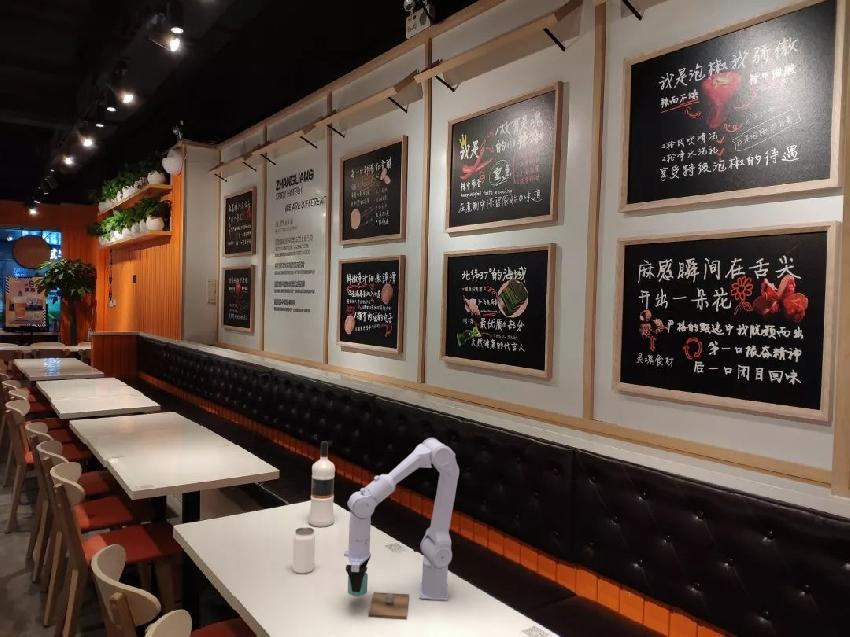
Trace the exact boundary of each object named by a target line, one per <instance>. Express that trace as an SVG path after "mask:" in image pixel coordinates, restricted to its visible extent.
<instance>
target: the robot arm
mask: <svg viewBox="0 0 850 637" xmlns="http://www.w3.org/2000/svg"><path fill="white" fill-rule="evenodd" d="M457 462H458V461H457V459H456V453H455V452H454V450H452V449H451V448H450V447H449V446H448V445H445V444H444V443H442V442H440V441H439V440H438V439H437V438H435V437H428V438H427V439H425V440H424V441H422V443H420V444H418V445H416V447H415V449H414V450H413V451H412V452H411V453H410V454H409V455H408V456H407V457H406V458H405V459H403V460H402V461H401V462H400V463H399V464H398V465H397V466H396V467H394V469H392V470H391V471H390V472H389V473H388V474H387V473H385V474H384V473H382V474H380V475H375V476H374V477H373V479H374V480H373V481H371V482H370V483H369V484H367V485H366V486H365V487H362V488H360V489H359V490H360V491H356V492H354V493H352V494H351V495H350V497H349V499H348V501H347V502H346V503H347V507H348V508H349V510H350V511H349V512H350V513H349V516H350V517H349V526H348V527H349V528H348V530H349V531H348V550H345V551H344V553H343V556H344V557H346V558H348V560H349V562H350V564H346V566H345V571H346V573H347V574H348V575H349V578H350V583H351V589H352V592H360V590H361V586H362V580H363V577H364V574H365V573H367V570H368V567H367V565H368V563H369V561H370V559H371V557H372V554H371V552H370V546H371V544H370V543H371V527H372V526H371V524H372V521H371V517H372V515H373V513H374V512H375V509H376V507H377V506H378V505H379V504H380V503H381V502H383V501H384V500H385V499H386V498H387V497H389V496H390V495H391V494H393V492H395V489H396V485H397V484H398V483H399V482H401V481H402V480H403V479H405V478H406V477H408V476H409V475H410V474H412V473H413V472H415V471H417V470H418V469H419V468H428V469H431V468H433V467H434V468H435V470H437V472H439V476H438V481H437V488H436V493H435V494H436V495H435V499H434V504H433V508H432V509H433V511H432V515H431V521H430V526H429V527H428V528H427V529H426V530H425V533H424V534H425V535H424V536H423V538H422V540H421V542H420V552H421V553H422V554H423V559H422V569H421V570H422V572H421V582H420V588H419V599H420V600H432V601H433V600H434V601H448V600H449V584H448V571H449V569H448V568H449V564H450V563H451V561H452V558H453V552H452V539H451V535H450V533H449V532H450V526H451V520H452V513H453V510H454V503H455V498H456V493H457V492H456V491H457V486H458V481H459V480H458V479H459V475H460V468H459V465H458V463H457ZM432 465H433V466H432ZM348 575H347V576H348Z"/></svg>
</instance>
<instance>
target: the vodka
mask: <svg viewBox="0 0 850 637" xmlns="http://www.w3.org/2000/svg"><path fill="white" fill-rule="evenodd" d="M328 449H329V441H327V440H325V441H321V442H320V459H318V460H317V461H315V462H314V463H313V464H312V466H311V490H310V491H311V494H310V508H309V509H310V510H309V515H308V521H307V522H308V524H310V525H311V526H314V527H316V526H317V527H316V528H324V527H329V526H331V525H332V524H334V522H335V515H334V514H335V513H334V498H335V495H334V490H335V489H334V488H335V487H334V485H335V475H336V474H335V472H336V467H335V466H336V465H335V464H334V462H332V461H330V460H329V459H328V456H329V454H328V453H329V450H328Z"/></svg>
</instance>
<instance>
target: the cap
mask: <svg viewBox="0 0 850 637" xmlns="http://www.w3.org/2000/svg"><path fill="white" fill-rule="evenodd" d="M347 576H348V577H347V593H348V595H350V596H353V597H362V596H364V595H366V594H367V593H368V582H369V581H368V580H369V579H368V577H369V575H368V573H367V572H366V573H365V574H364V577H363V580H362V586H361V590H360V592H352V589H351V583H350V578H349V575H347Z"/></svg>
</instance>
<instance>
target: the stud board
mask: <svg viewBox="0 0 850 637" xmlns="http://www.w3.org/2000/svg"><path fill="white" fill-rule="evenodd" d="M409 599H410V594H408V593H407V594H406V593H395V592H394V593H393V592H377V591H374V592H373V594H372V598H371V601H370V602H371V603H370V605H369V611H368V615H367V616H368V618H379V619H380V618H381V619H394V620H407V616H408V609H409V608H408V607H409Z"/></svg>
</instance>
